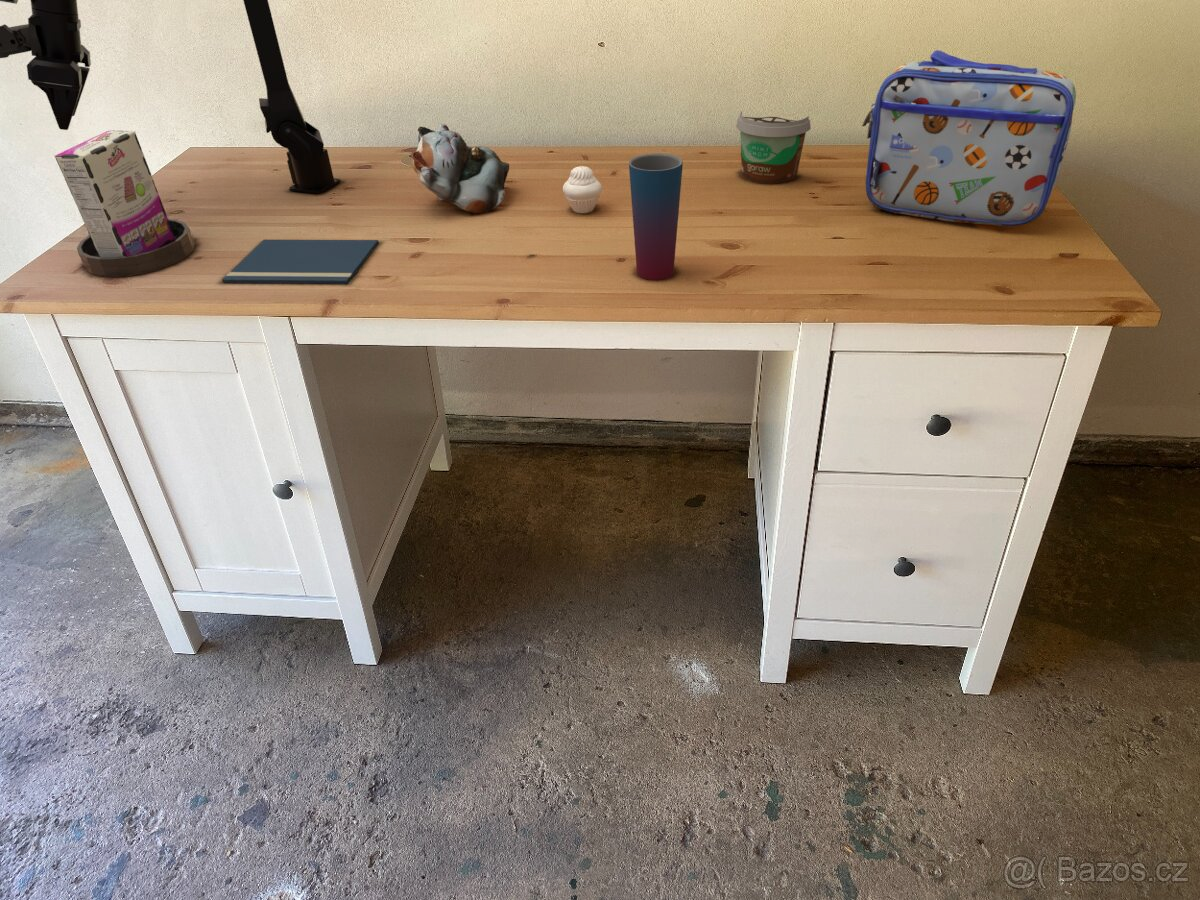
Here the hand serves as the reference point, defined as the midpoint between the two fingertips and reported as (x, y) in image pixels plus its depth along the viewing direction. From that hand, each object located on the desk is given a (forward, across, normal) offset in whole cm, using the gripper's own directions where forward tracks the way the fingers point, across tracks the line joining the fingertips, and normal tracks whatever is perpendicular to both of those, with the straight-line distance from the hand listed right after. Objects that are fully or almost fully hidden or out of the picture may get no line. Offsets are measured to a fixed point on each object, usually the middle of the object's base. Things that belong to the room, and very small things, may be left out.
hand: (67, 122), depth 128 cm
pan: (+14, +19, +10) cm, 25 cm away
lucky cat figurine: (+1, +21, +58) cm, 62 cm away
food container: (-12, +34, +105) cm, 111 cm away
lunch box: (-16, +60, +121) cm, 136 cm away
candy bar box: (+14, +19, +10) cm, 25 cm away
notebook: (+8, +33, +32) cm, 46 cm away
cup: (-3, +59, +74) cm, 95 cm away
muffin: (-3, +33, +74) cm, 81 cm away
